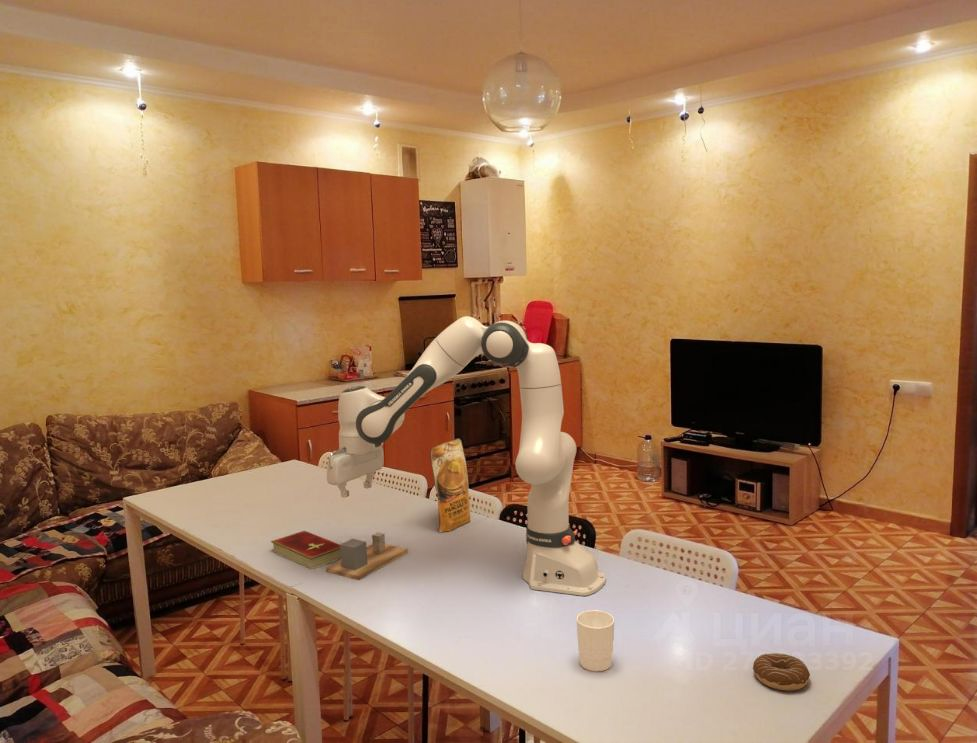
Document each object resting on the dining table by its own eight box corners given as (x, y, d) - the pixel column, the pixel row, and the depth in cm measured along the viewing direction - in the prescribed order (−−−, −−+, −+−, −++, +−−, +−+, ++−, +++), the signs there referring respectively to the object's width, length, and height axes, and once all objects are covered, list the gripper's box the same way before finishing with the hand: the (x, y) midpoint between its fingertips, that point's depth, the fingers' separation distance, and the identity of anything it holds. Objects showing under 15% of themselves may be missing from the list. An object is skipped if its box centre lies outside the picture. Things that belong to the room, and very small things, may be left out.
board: (407, 552, 217) (407, 548, 216) (359, 580, 198) (358, 576, 198) (376, 545, 223) (376, 542, 223) (326, 571, 204) (326, 567, 204)
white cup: (610, 652, 157) (610, 609, 156) (618, 672, 149) (617, 627, 148) (574, 654, 157) (573, 610, 156) (580, 674, 149) (579, 628, 148)
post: (385, 551, 215) (384, 533, 214) (379, 554, 213) (378, 536, 212) (378, 549, 216) (377, 532, 215) (372, 552, 214) (372, 535, 213)
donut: (789, 701, 138) (790, 682, 138) (741, 677, 147) (742, 659, 146) (820, 682, 144) (820, 663, 144) (772, 660, 153) (772, 642, 152)
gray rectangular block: (367, 563, 206) (366, 541, 205) (355, 570, 202) (354, 547, 201) (353, 560, 209) (352, 538, 208) (341, 567, 204) (339, 544, 203)
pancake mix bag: (426, 531, 234) (422, 447, 230) (462, 515, 249) (460, 435, 245) (442, 536, 230) (439, 450, 226) (478, 518, 245) (475, 438, 241)
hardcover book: (306, 541, 229) (305, 529, 228) (345, 558, 215) (345, 544, 214) (272, 553, 220) (271, 540, 219) (311, 571, 206) (310, 557, 205)
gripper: (337, 454, 191) (339, 504, 193) (387, 438, 208) (388, 484, 210) (320, 451, 194) (322, 500, 196) (370, 435, 211) (371, 481, 213)
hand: (356, 492), depth 203 cm, fingers open, 8 cm apart
